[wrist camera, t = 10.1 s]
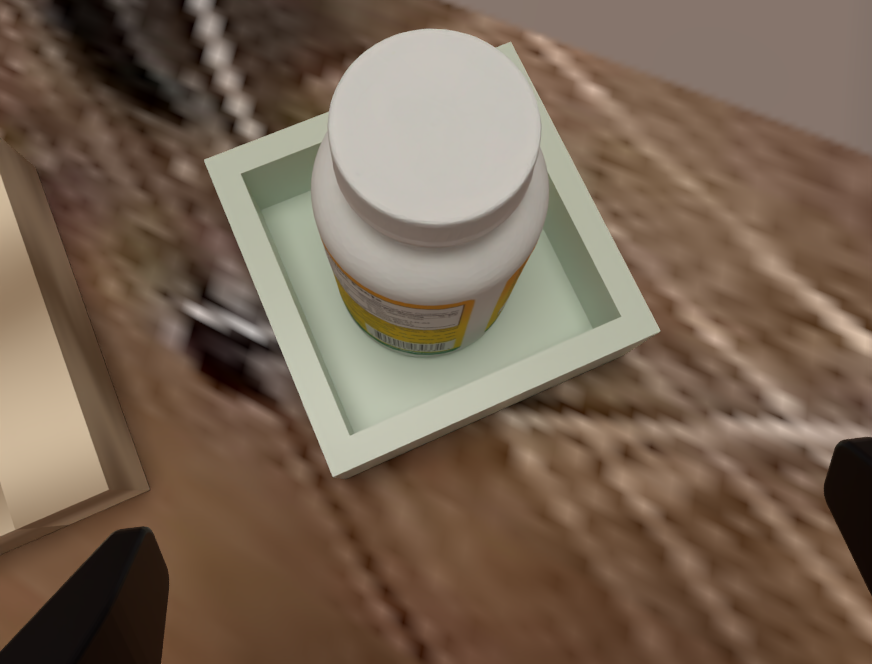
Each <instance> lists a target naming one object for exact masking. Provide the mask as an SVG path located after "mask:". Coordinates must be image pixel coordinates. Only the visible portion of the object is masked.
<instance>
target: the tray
mask: <svg viewBox="0 0 872 664" xmlns="http://www.w3.org/2000/svg"><path fill="white" fill-rule="evenodd" d="M496 49H498V50H499V51H500V52H502V53H503V54H505V55H506V56H507V57H508V58H509V59H510V60H511V61H512V62H513V63H514V64H515V65H516V66H517V67H518V68H519V70H520V71H521V72H522V74H523V75H524V76H525V78H526V79H527V81H528V83H529V85H530V86H531V88H532V90H533V92H534V95H535V98H536V100H537V104H538V108H539V112H540V118H541V124H542V130H541V141H540V148H541V150H542V153H543V156H544V159H545V163H546V166H547V172H548V178H549V203H548V210H547V215H546V219H545V223H544V226H543V229H542V232H541V234H540V237H539V239H538V242H537V244H536V246H535V249H534V250H533V252H532V253H531V255H530V257H529V259H528V261H527V263H526V265H525V267H524V268H523V271H522V272H521V274H520V276H519V278H518V280H517V282H516V284H515V286H514V288H513V290H512V292H511V294H510V296H509V298H508V300H507V302H506V304H505V306H504V308H503V310H502V312H501V313H500V315H499V317H498V318H497V320H496V321H495V322H494V324H493V325H492V326H491V327H490V328H489V330H488V331H487V332H486V333H485V334H484V335H482V336H481V337H480V338H479V339H478V340H476V341H475V342H473V343H472V344H470V345H469V346H467V347H465V348H463V349H461V350H458V351H456V352H453V353H449V354H446V355H441V356H434V357H417V356H410V355H405V354H402V353H398V352H395V351H392V350H390V349H387V348H385V347H384V346H382V345H380V344H378V343H377V342H375V341H374V340H373V339H371V338H370V337H369V336H368V335H366V334H365V333H364V332H363V331H362V330H361V329H360V328H359V327H358V325H357V324H356V323H355V322H354V320H353V319H352V317H351V316H350V314H349V312H348V310H347V309H346V306H345V304H344V302H343V300H342V298H341V295H340V292H339V289H338V285H337V282H336V280H335V276H334V273H333V271H332V268H331V266H330V263H329V260H328V257H327V255H326V252H325V249H324V246H323V243H322V240H321V237H320V234H319V231H318V228H317V225H316V221H315V218H314V214H313V208H312V200H311V178H312V171H313V166H314V162H315V158H316V155H317V152H318V149H319V147H320V145H321V142H322V140H323V138H324V136H325V134H326V132H327V131H328V129H327V125H328V115H329V112H327V113H324V114H322V115H319V116H317V117H314V118H311V119H309V120H306V121H304V122H301V123H298V124H296V125H293V126H291V127H288V128H285V129H283V130H280V131H278V132H275V133H272V134H270V135H267V136H265V137H262V138H259V139H257V140H254V141H252V142H249V143H246V144H244V145H241V146H239V147H236V148H233V149H231V150H228V151H226V152H223V153H220V154H218V155H215V156H213V157H210V158H207V159H205V160H204V162H205V164H206V167H207V169H208V171H209V174H210V176H211V179H212V181H213V184H214V186H215V189H216V191H217V194H218V196H219V198H220V201H221V203H222V206H223V208H224V211H225V213H226V216H227V218H228V221H229V223H230V225H231V228H232V230H233V233H234V235H235V238H236V240H237V243H238V245H239V248H240V250H241V253H242V255H243V257H244V260H245V262H246V265H247V267H248V270H249V272H250V275H251V277H252V280H253V282H254V284H255V287H256V289H257V292H258V294H259V297H260V299H261V302H262V304H263V307H264V309H265V311H266V314H267V316H268V319H269V321H270V324H271V326H272V329H273V331H274V334H275V336H276V339H277V341H278V343H279V346H280V348H281V351H282V353H283V356H284V358H285V361H286V363H287V366H288V368H289V370H290V373H291V375H292V378H293V380H294V383H295V385H296V388H297V390H298V393H299V395H300V397H301V400H302V402H303V405H304V407H305V410H306V412H307V415H308V417H309V420H310V422H311V425H312V427H313V429H314V432H315V434H316V437H317V439H318V442H319V444H320V447H321V449H322V452H323V454H324V456H325V459H326V461H327V464H328V466H329V469H330V471H331V474H332V476H333V477H335V478H341V479H348V478H350V477H352V476H354V475H356V474H359V473H361V472H363V471H365V470H368V469H370V468H372V467H374V466H377V465H379V464H381V463H383V462H386V461H388V460H390V459H392V458H395V457H397V456H399V455H401V454H404V453H406V452H408V451H410V450H413V449H415V448H417V447H419V446H421V445H424V444H426V443H428V442H430V441H433V440H435V439H437V438H439V437H442V436H444V435H446V434H448V433H451V432H453V431H455V430H457V429H460V428H462V427H464V426H466V425H469V424H471V423H473V422H475V421H478V420H480V419H482V418H484V417H486V416H489V415H491V414H493V413H495V412H498V411H500V410H502V409H504V408H507V407H509V406H511V405H513V404H516V403H518V402H520V401H522V400H525V399H527V398H529V397H531V396H534V395H536V394H538V393H540V392H543V391H545V390H547V389H549V388H551V387H554V386H556V385H558V384H560V383H563V382H565V381H567V380H569V379H572V378H574V377H576V376H578V375H581V374H583V373H585V372H587V371H590V370H592V369H594V368H596V367H599V366H601V365H603V364H605V363H608V362H610V361H612V360H614V359H616V358H619V357H621V356H623V355H625V354H627V353H628V352H630V351H631V350H633V349H634V348H636V347H637V346H639V345H640V344H642V343H644V342H645V341H647V340H648V339H650V338H651V337H653V336H654V335H656V334H657V333H659V332H660V329H659V327H658V325H657V323H656V321H655V319H654V317H653V316H652V314H651V312H650V310H649V308H648V306H647V304H646V302H645V300H644V298H643V296H642V294H641V292H640V290H639V288H638V287H637V285H636V283H635V281H634V279H633V277H632V275H631V273H630V271H629V269H628V267H627V265H626V263H625V261H624V260H623V258H622V256H621V254H620V252H619V250H618V248H617V246H616V244H615V242H614V240H613V238H612V236H611V234H610V232H609V231H608V229H607V227H606V225H605V223H604V221H603V219H602V217H601V215H600V213H599V211H598V209H597V207H596V205H595V203H594V202H593V200H592V198H591V196H590V194H589V192H588V190H587V188H586V186H585V184H584V182H583V180H582V178H581V176H580V175H579V173H578V171H577V169H576V167H575V165H574V163H573V161H572V159H571V157H570V155H569V153H568V151H567V149H566V147H565V146H564V144H563V142H562V140H561V138H560V136H559V134H558V132H557V130H556V128H555V126H554V124H553V122H552V120H551V119H550V117H549V115H548V113H547V111H546V109H545V107H544V105H543V103H542V101H541V99H540V97H539V95H538V93H537V91H536V90H535V88H534V86H533V84H532V82H531V80H530V78H529V76H528V74H527V72H526V70H525V68H524V66H523V64H522V63H521V61H520V59H519V57H518V55H517V53H516V51H515V49H514V47H513V45H512V43H511V42H509V43H507V44H504V45H501V46H499V47H496Z"/></svg>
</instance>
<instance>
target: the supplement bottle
mask: <svg viewBox="0 0 872 664" xmlns="http://www.w3.org/2000/svg"><path fill="white" fill-rule="evenodd" d="M327 129H328V131H327V132H326V134H325V136H324V138H323V140H322V142H321V145H320V147H319V149H318V152H317V155H316V158H315V162H314V166H313V171H312V178H311V200H312V208H313V214H314V218H315V221H316V225H317V228H318V231H319V234H320V237H321V240H322V243H323V246H324V249H325V252H326V255H327V257H328V260H329V263H330V266H331V268H332V271H333V273H334V276H335V280H336V282H337V285H338V289H339V292H340V295H341V298H342V300H343V302H344V304H345V306H346V309H347V310H348V312H349V314H350V316H351V317H352V319H353V320H354V322H355V323H356V324H357V325H358V327H359V328H360V329H361V330H362V331H363V332H364V333H365V334H366V335H368V336H369V337H370V338H371V339H373V340H374V341H375V342H377V343H378V344H380V345H382V346H384V347H385V348H387V349H390V350H392V351H395V352H398V353H402V354H405V355H410V356H417V357H434V356H441V355H446V354H449V353H453V352H456V351H458V350H461V349H463V348H465V347H467V346H469V345H470V344H472V343H473V342H475V341H476V340H478V339H479V338H480V337H481V336H482V335H484V334H485V333H486V332H487V331H488V330H489V328H490V327H491V326H492V325H493V324H494V322H495V321H496V320H497V318H498V317H499V315H500V313H501V312H502V310H503V308H504V306H505V304H506V302H507V300H508V298H509V296H510V294H511V292H512V290H513V288H514V286H515V284H516V282H517V280H518V278H519V276H520V274H521V272H522V271H523V268H524V267H525V265H526V263H527V261H528V259H529V257H530V255H531V253H532V252H533V250H534V249H535V246H536V244H537V242H538V239H539V237H540V234H541V232H542V229H543V226H544V223H545V219H546V215H547V210H548V203H549V178H548V172H547V166H546V163H545V159H544V156H543V153H542V150H541V148H540V141H541V130H542V124H541V118H540V112H539V108H538V104H537V100H536V98H535V95H534V92H533V90H532V88H531V86H530V85H529V83H528V81H527V79H526V78H525V76H524V75H523V74H522V72H521V71H520V70H519V68H518V67H517V66H516V65H515V64H514V63H513V62H512V61H511V60H510V59H509V58H508V57H507V56H506V55H505V54H503V53H502V52H500V51H499V50H498V49H496V48H495V47H493V46H492V45H490V44H488V43H487V42H485V41H483V40H481V39H479V38H477V37H474V36H472V35H469V34H465V33H460V32H457V31H451V30H445V29H420V30H414V31H408V32H404V33H400V34H397V35H395V36H392V37H389V38H387V39H385V40H383V41H381V42H379V43H377V44H375V45H374V46H373V47H371V48H370V49H368V50H367V51H365V52H364V53H363V54H362V55H361V56H359V57H358V58H357V59H356V60H355V61H354V62H353V63H352V65H351V66H350V67H349V68H348V69H347V71H346V72H345V74H344V75H343V77H342V79H341V80H340V82H339V84H338V86H337V88H336V90H335V92H334V95H333V98H332V101H331V105H330V109H329V115H328V125H327Z"/></svg>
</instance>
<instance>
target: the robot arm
mask: <svg viewBox="0 0 872 664" xmlns="http://www.w3.org/2000/svg"><path fill="white" fill-rule="evenodd" d="M824 496H825V500H826V502H827V505H828V507H829V509H830V511H831V513H832V515H833V517H834V519H835V522H836V524H837V526H838V528H839V530H840V532H841V534H842V536H843V538H844V540H845V542H846V544H847V546H848V548H849V550H850V553H851V555H852V557H853V559H854V561H855V563H856V565H857V567H858V569H859V571H860V573H861V575H862V577H863V579H864V581H865V583H866V586H867V588H868V590H869V592H870V593H871V595H872V437H862V438H854V439H846V440H842V441H840V442H839V443H838V444H837V445H836V447H835V449H834V453H833V456H832V459H831V463H830V466H829V469H828V472H827V476H826V479H825V483H824ZM168 593H169V574H168V569H167V566H166V564H165V561H164V559H163V556H162V554H161V551H160V549H159V546H158V544H157V541H156V539H155V536H154V534H153V532H152V530H151V529H150V528H148V527H144V526H142V527H134V528H126V529H119V530H116V531H115V532H113V533H112V534H111V535H110V536H109V537H108V538H107V539H106V540H105V541H104V542H103V543H102V544H101V545H100V546H99V547H98V548H97V549H96V550H95V551H94V552H93V554H92V555H91V556H90V557H89V558H88V559H87V560H86V561H85V562H84V563H83V564H82V565H81V566H80V567H79V568H78V569H77V571H76V572H75V573H74V574H73V575H72V576H71V577H70V578H69V579H68V580H67V581H66V582H65V583H64V584H63V585H62V586H61V588H60V589H59V590H58V591H57V592H56V593H55V594H54V595H53V596H52V597H51V598H50V599H49V600H48V601H47V602H46V603H45V604H44V606H43V607H42V608H41V609H40V610H39V611H38V612H37V613H36V614H35V615H34V616H33V617H32V618H31V619H30V620H29V621H28V623H27V624H26V625H25V626H24V627H23V628H22V629H21V630H20V631H19V632H18V633H17V634H16V635H15V636H14V637H13V638H12V640H11V641H10V642H9V643H8V644H7V645H6V646H5V647H4V648H3V649H2V650H1V651H0V664H161V658H162V649H163V640H164V630H165V621H166V612H167V602H168Z"/></svg>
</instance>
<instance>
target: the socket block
mask: <svg viewBox="0 0 872 664" xmlns="http://www.w3.org/2000/svg"><path fill="white" fill-rule="evenodd" d="M148 490H150V488H149V485H148V483H147V480H146V477H145V474H144V471H143V469H142V466H141V463H140V460H139V457H138V455H137V452H136V449H135V446H134V443H133V440H132V438H131V435H130V432H129V429H128V426H127V424H126V421H125V418H124V415H123V412H122V410H121V407H120V404H119V401H118V398H117V395H116V393H115V390H114V387H113V384H112V381H111V379H110V376H109V373H108V370H107V367H106V365H105V362H104V359H103V356H102V353H101V350H100V348H99V345H98V342H97V339H96V336H95V334H94V331H93V328H92V325H91V322H90V320H89V317H88V314H87V311H86V308H85V305H84V303H83V300H82V297H81V294H80V291H79V289H78V286H77V283H76V280H75V277H74V274H73V272H72V269H71V266H70V263H69V260H68V258H67V255H66V252H65V249H64V246H63V244H62V241H61V238H60V235H59V232H58V229H57V227H56V224H55V221H54V218H53V215H52V213H51V210H50V207H49V204H48V201H47V199H46V196H45V193H44V190H43V187H42V184H41V182H40V179H39V176H38V173H37V170H36V168H35V167H34V166H33V165H32V164H31V163H30V162H28V161H27V160H26V159H25V158H24V157H23V156H21V155H20V154H19V153H18V152H17V151H16V150H14V149H13V148H12V147H11V146H10V145H8V144H7V143H6V142H5V141H4V140H3V139H1V138H0V555H1V554H3V553H5V552H8V551H10V550H12V549H15V548H17V547H19V546H22V545H24V544H26V543H29V542H31V541H33V540H35V539H38V538H40V537H42V536H45V535H47V534H49V533H52V532H54V531H56V530H58V529H61V528H63V527H65V526H68V525H70V524H72V523H75V522H77V521H79V520H82V519H84V518H86V517H88V516H91V515H93V514H95V513H98V512H100V511H102V510H105V509H107V508H109V507H112V506H114V505H116V504H118V503H121V502H123V501H125V500H128V499H130V498H132V497H135V496H137V495H139V494H141V493H144V492H146V491H148Z"/></svg>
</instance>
